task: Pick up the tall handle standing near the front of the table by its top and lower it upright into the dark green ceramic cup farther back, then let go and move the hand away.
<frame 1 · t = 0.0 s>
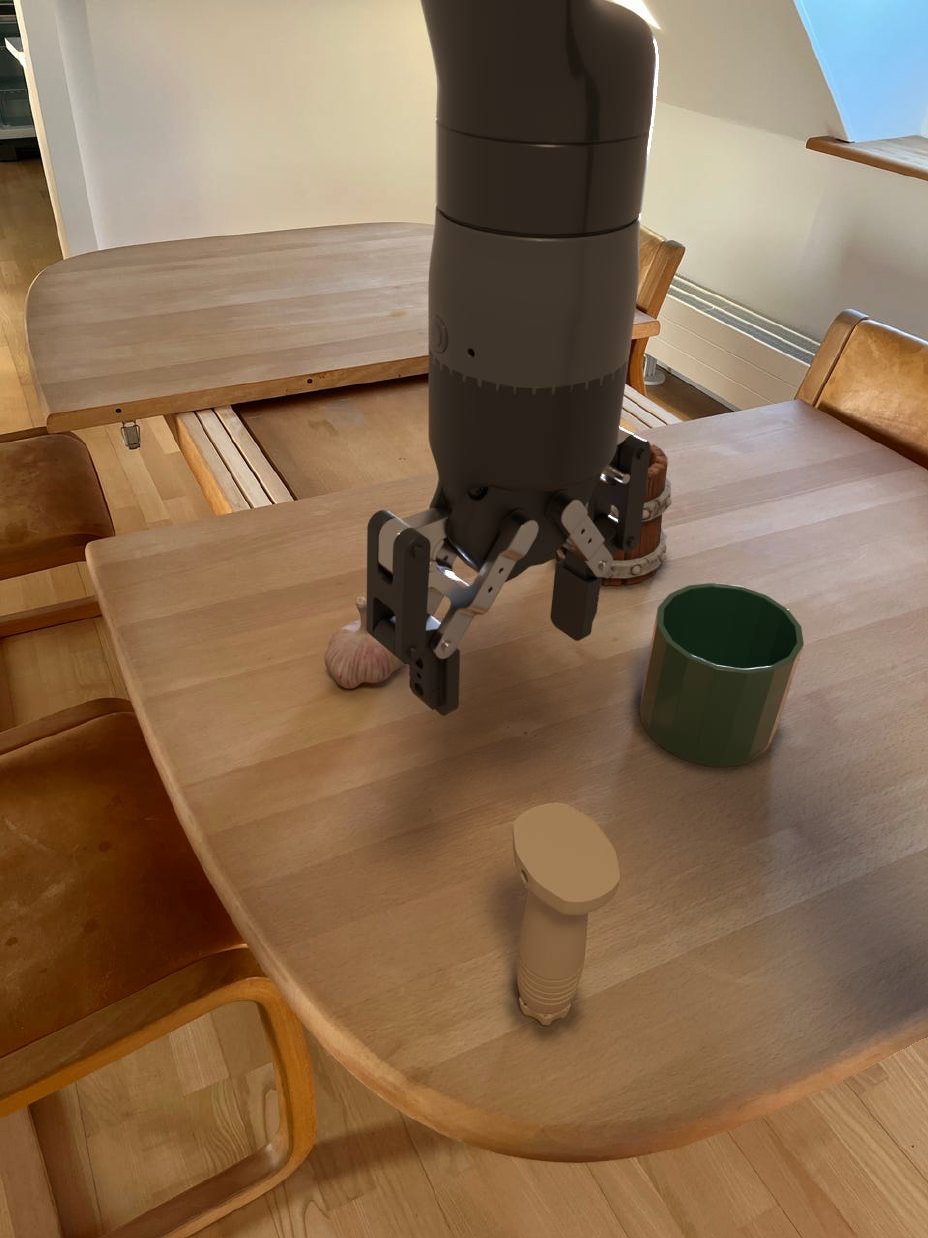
hand: (507, 665, 45), 25 cm above the table, tool pointing down, fingers open, 8 cm apart
mug: (592, 555, 97), on the table
garlic bulb: (368, 671, 82), on the table
cup: (705, 718, 78), on the table
handle: (543, 1004, 58), on the table
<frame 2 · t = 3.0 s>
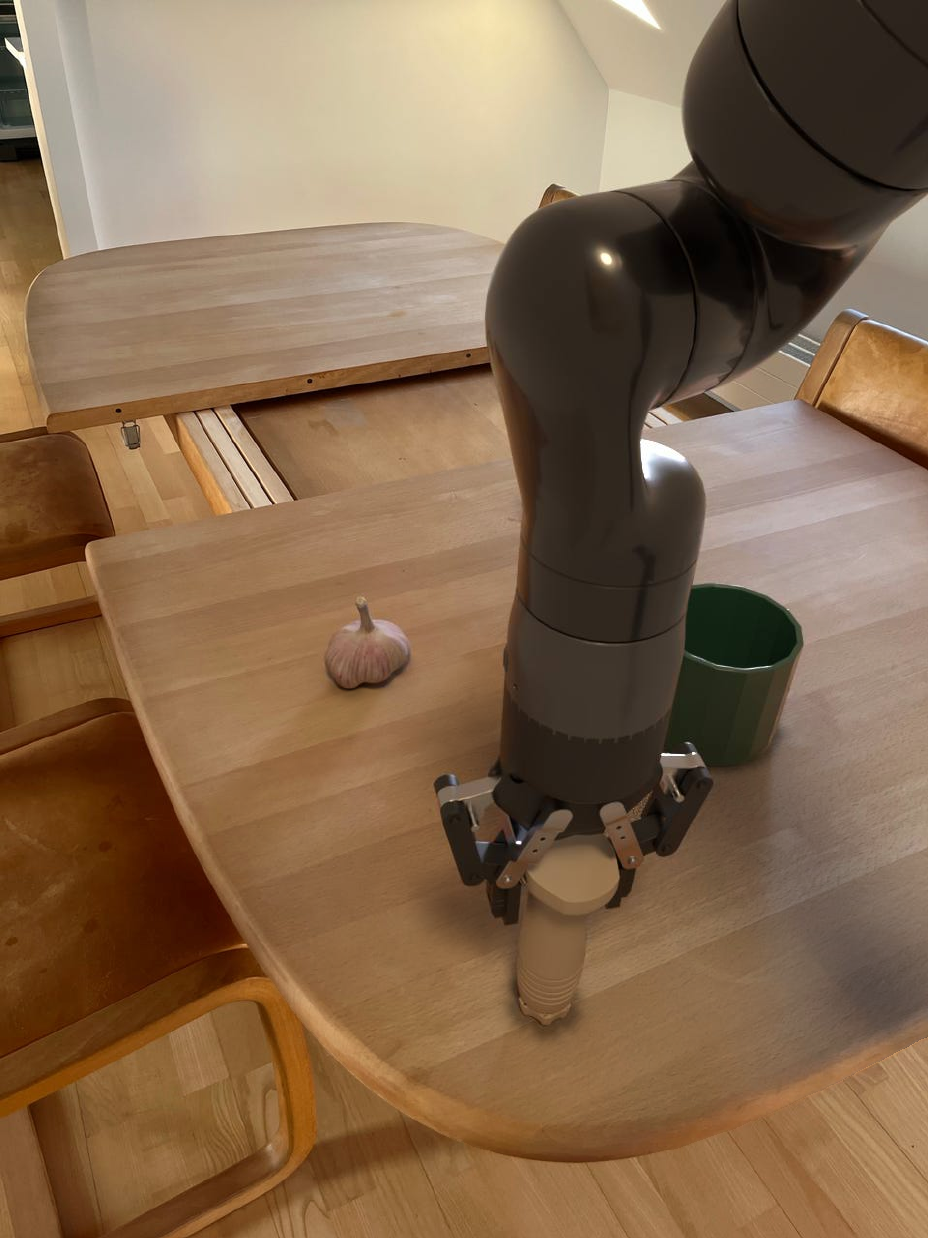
hand: (557, 902, 52), 10 cm above the table, tool pointing down, fingers closed on handle, 5 cm apart
handle: (543, 1004, 58), on the table, touching gripper
everything else where it was.
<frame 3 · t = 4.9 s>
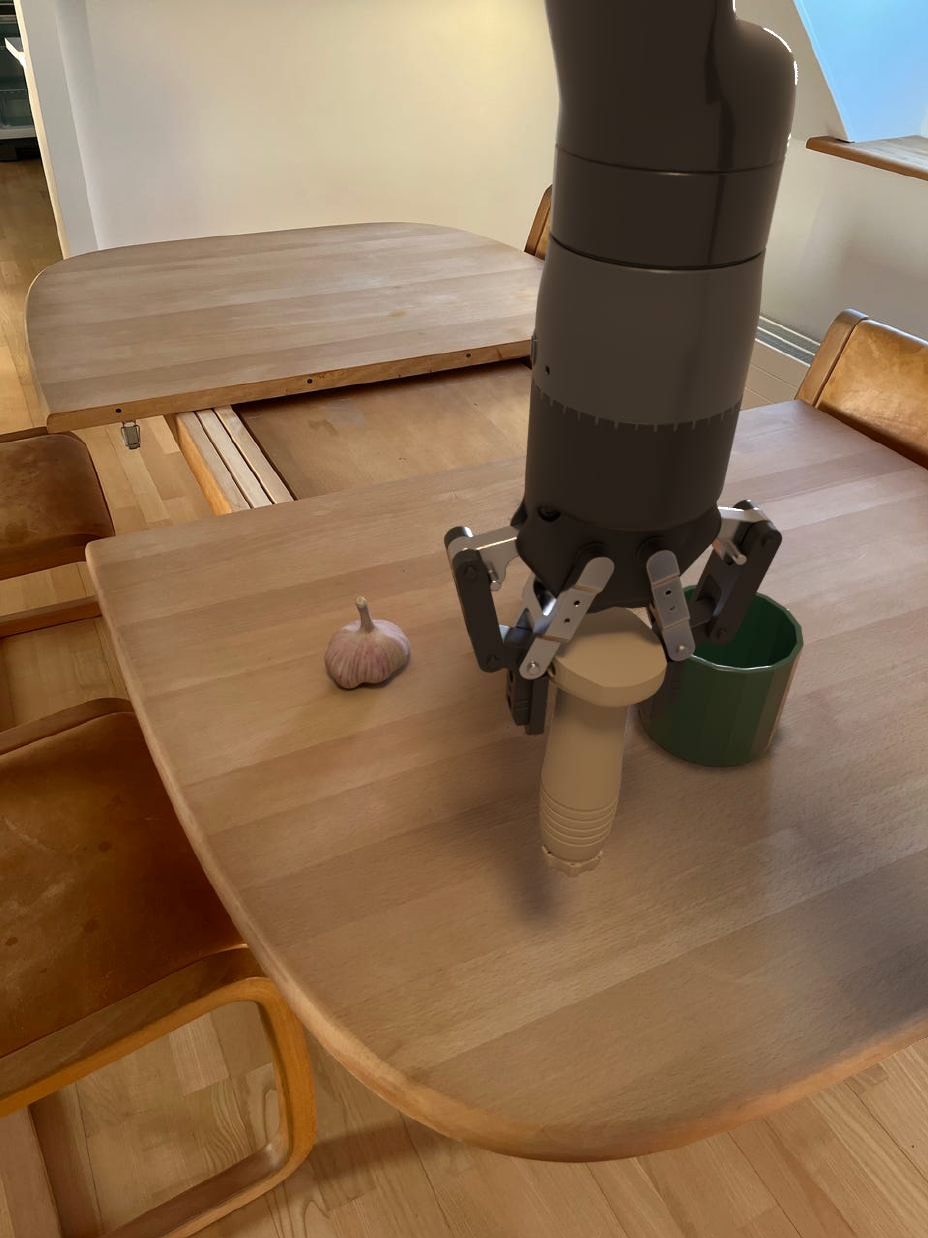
hand: (590, 713, 44), 24 cm above the table, tool pointing down, fingers closed on handle, 5 cm apart
handle: (570, 857, 50), point 14 cm above the table, touching gripper
everything else where it was.
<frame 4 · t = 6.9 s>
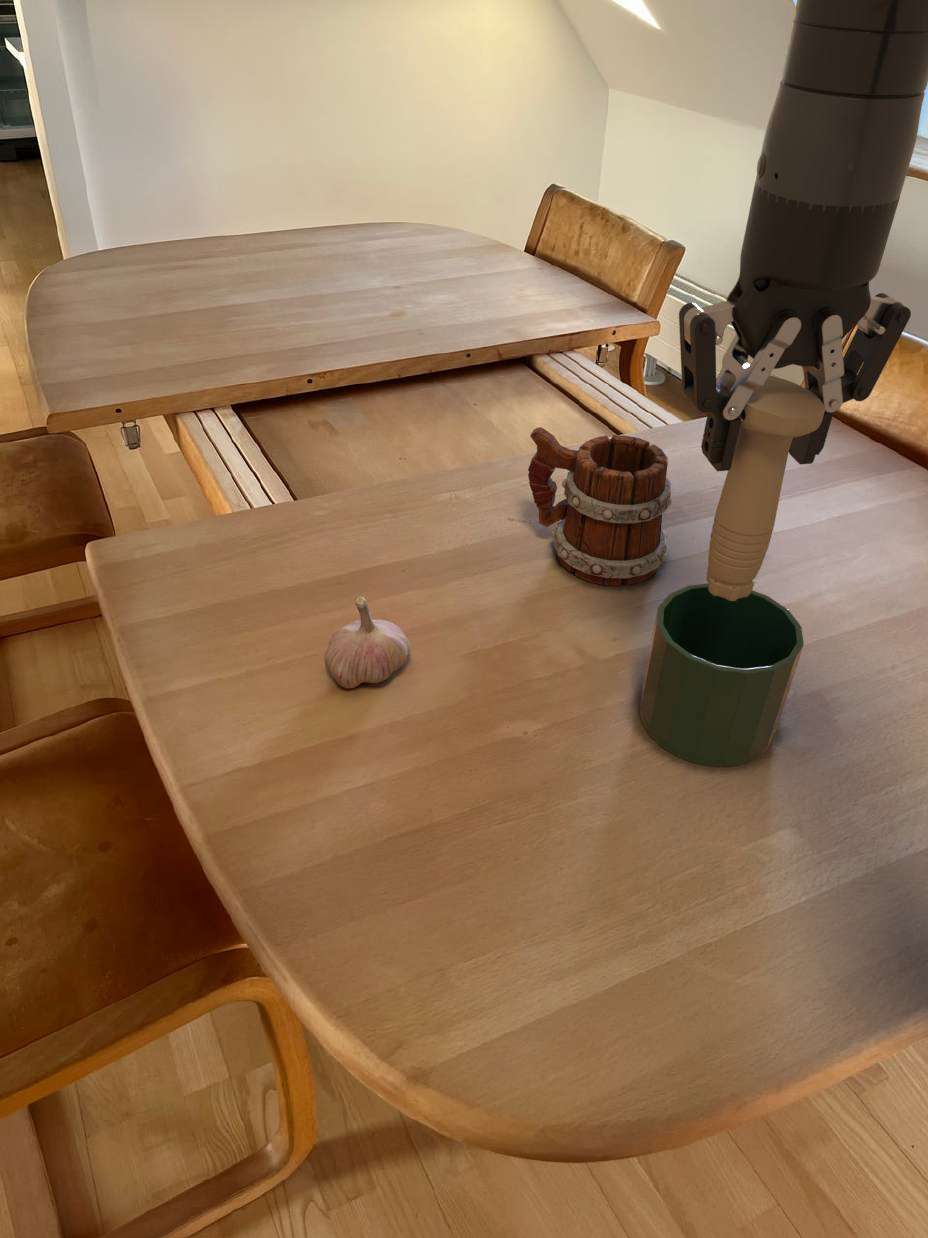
hand: (759, 460, 61), 25 cm above the table, tool pointing down, fingers closed on handle, 5 cm apart
handle: (726, 591, 67), point 15 cm above the table, touching gripper
everything else where it was.
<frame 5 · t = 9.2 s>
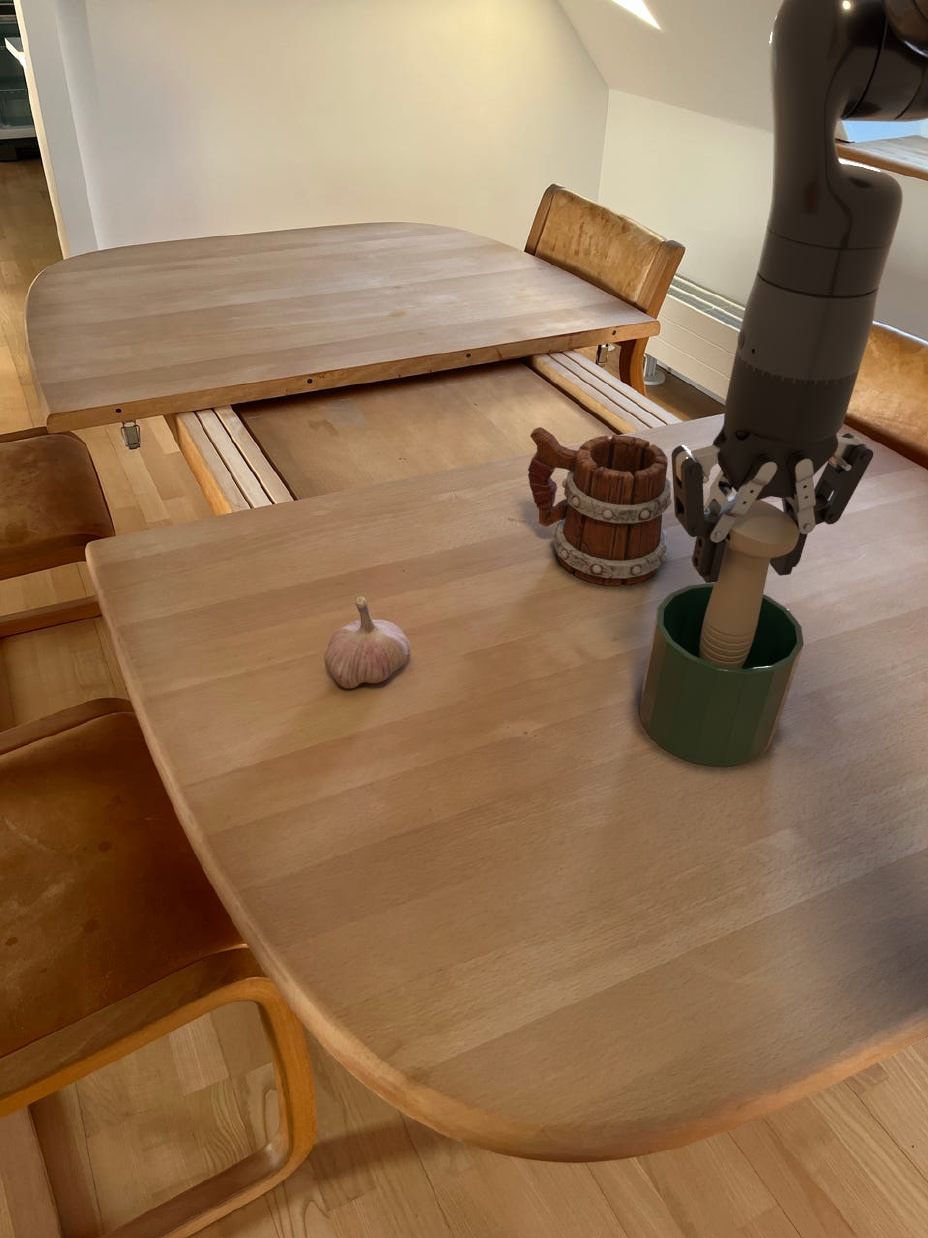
hand: (743, 571, 69), 15 cm above the table, tool pointing down, fingers closed on handle, 5 cm apart
handle: (715, 679, 75), point 4 cm above the table, touching gripper
everything else where it was.
when the fingers open (11 cm above the table, at t = 10.8 s): handle stays where it is, resting on cup.
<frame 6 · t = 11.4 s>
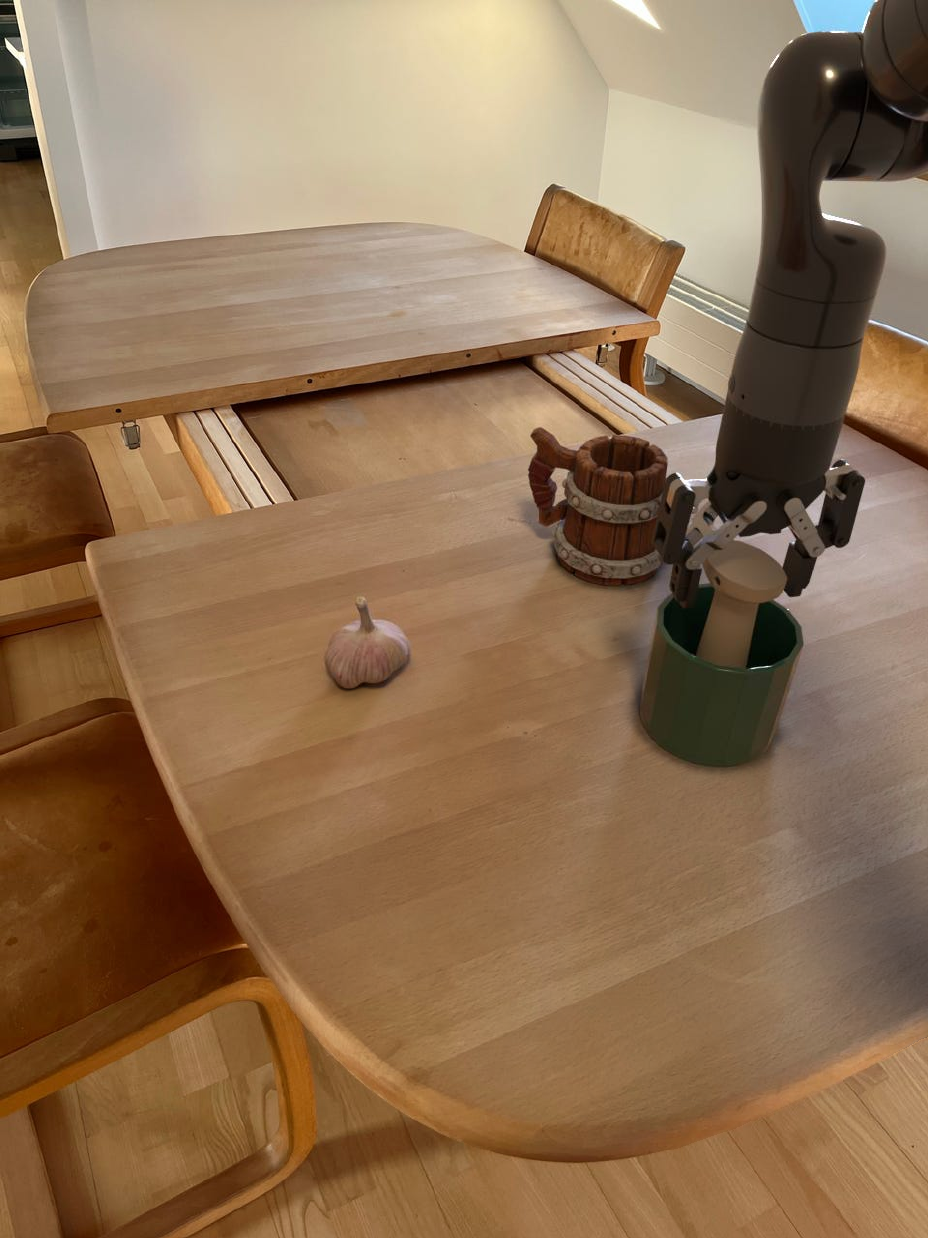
hand: (736, 596, 70), 13 cm above the table, tool pointing down, fingers open, 8 cm apart
handle: (707, 714, 78), point 1 cm above the table, touching cup
everything else where it was.
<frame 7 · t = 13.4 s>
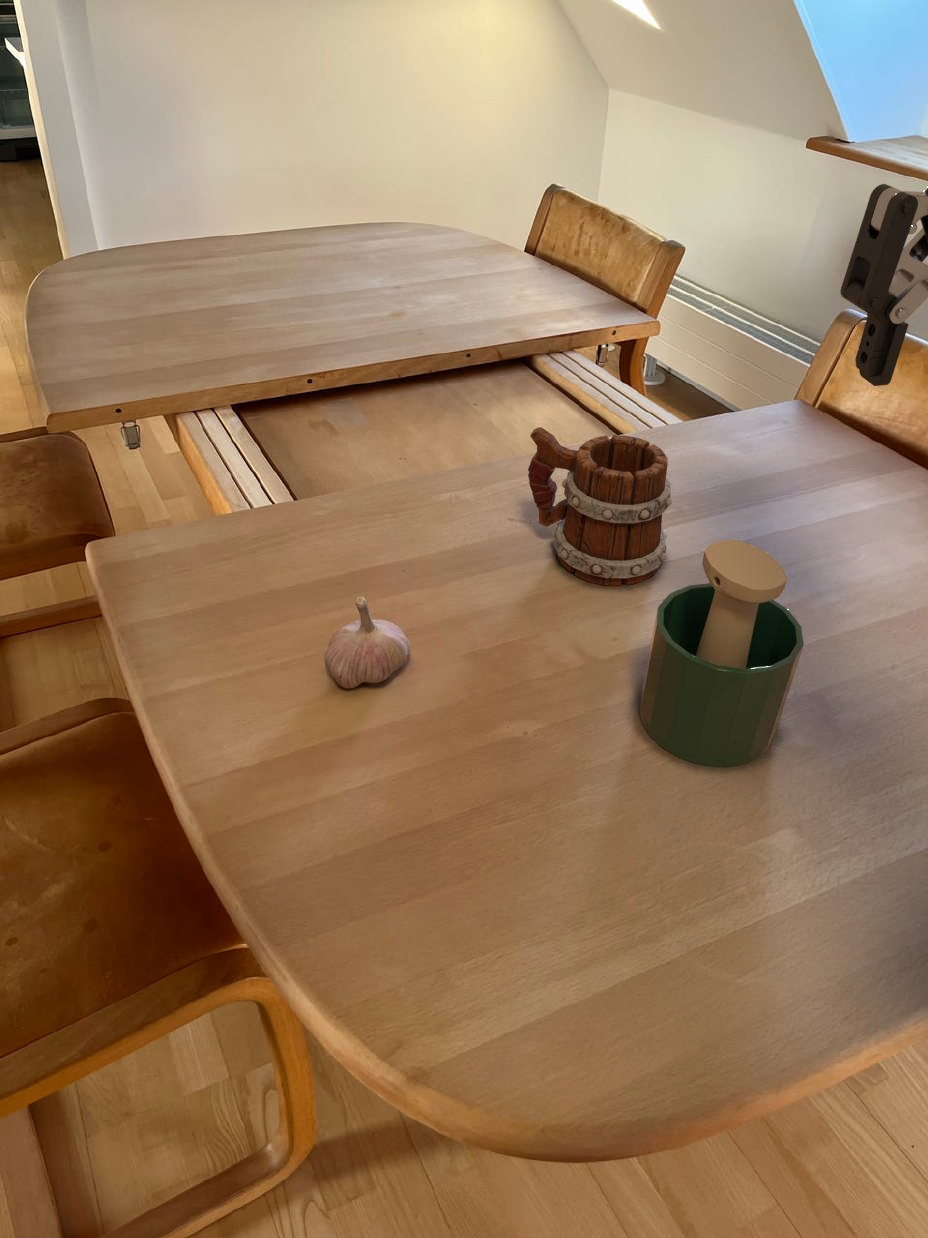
nothing on the table moved.
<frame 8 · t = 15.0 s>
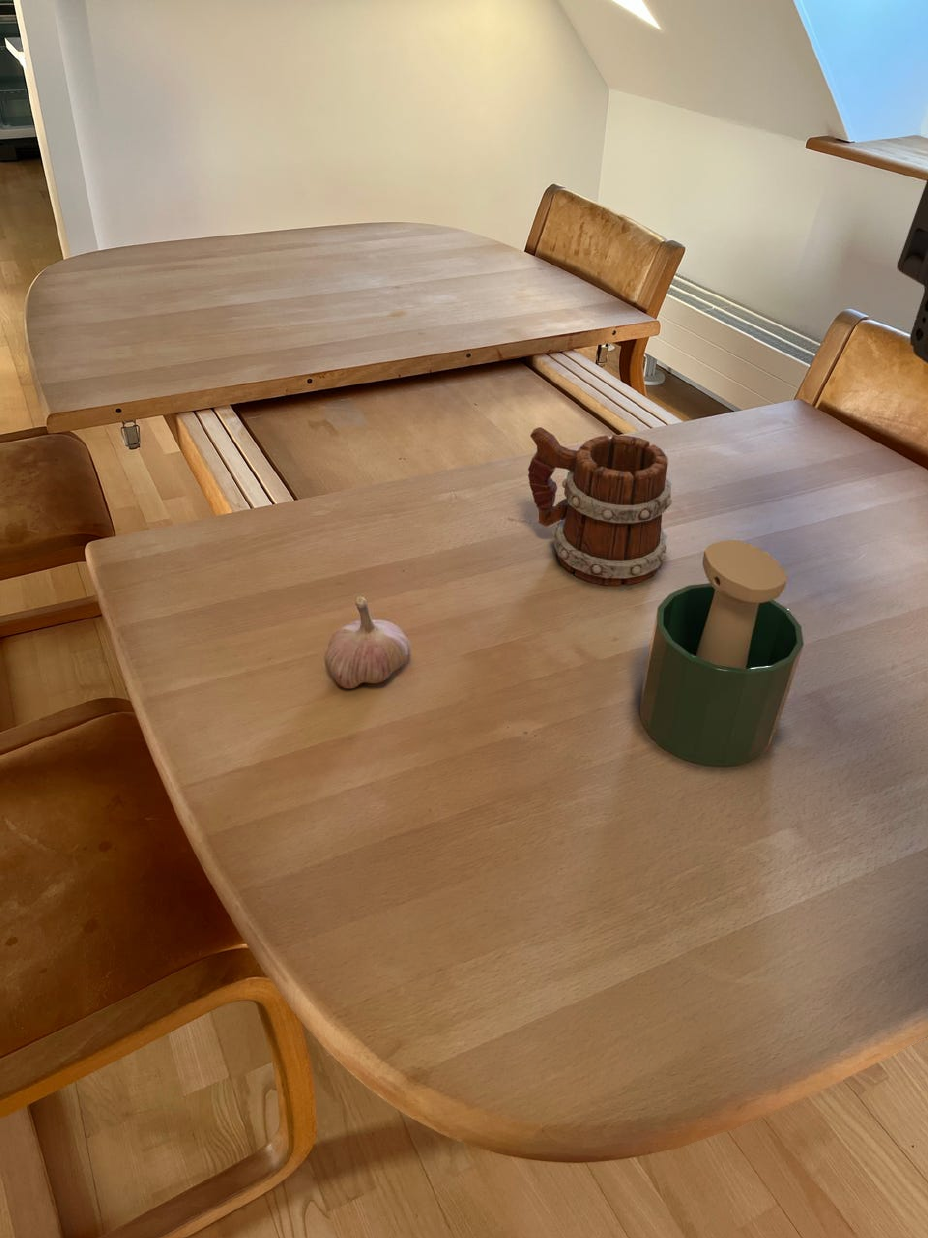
nothing on the table moved.
at the end: handle 0.1 cm off-centre in the cup, point 0.6 cm above the cup's base; the gripper is holding nothing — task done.
